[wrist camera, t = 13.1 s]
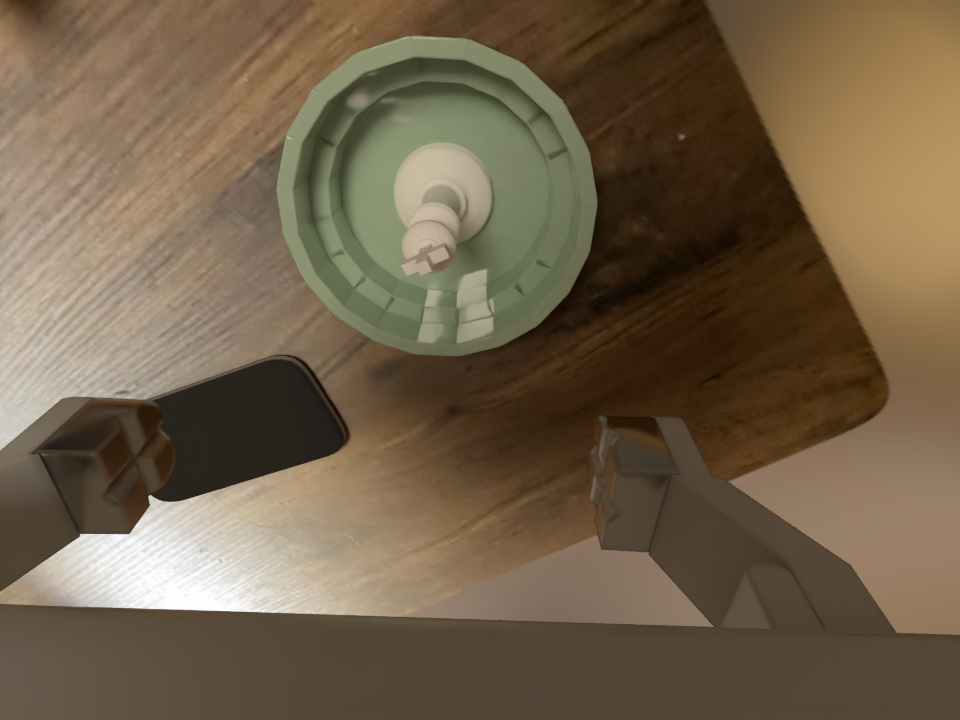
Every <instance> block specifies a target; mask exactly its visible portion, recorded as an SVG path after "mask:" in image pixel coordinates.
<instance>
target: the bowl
mask: <svg viewBox="0 0 960 720" xmlns="http://www.w3.org/2000/svg"><path fill="white" fill-rule="evenodd" d="M437 142H447V143H453V144H457V145H460V146H462V147H464V148H466V149H468V150H469V151H471V152H472V153H474V154H475V155H476V156H477V157H478V158H479V159H480V160H481V161H482V163H483V164H484V165H485V167H486V168H487V170H488V172H489V175H490V177H491V180H492V184H493V191H494V199H493V206H492V210H491V213H490V215H489V217H488V219H487V221H486V223H485V224H484V226H483V227H482V228H481V230H480V231H479V232H478V233H477V234H476V235H474V236H473V237H472V238H470V239H469V240H467V241H465V242H462V243H460V244H456V255H455V258H454V260H453V262H452V263H451V264H450V265H449V266H448V267H447V268H446V269H444V270H443V271H440V272H437V273H427V274H424V275H422V276H420V274H419V272H415V273H413V274H411V275H408V276H406V274H405V272H404V270H403V268H402V267H401V264H402V261H404V260H406V259H405V257H404V255H403V251H402V240H403V237H404V234H405V232H406V231H407V230H408V229H407V228H406V227H405V226H404V224H403V223H402V221H401V220H400V218H399V216H398V213H397V211H396V207H395V203H394V183H395V178H396V175H397V172H398V170H399V168H400V166H401V164H402V163H403V162H404V160H405V159H406V158H407V157H408V156H409V155H410V154H411V153H412V152H414V151H415V150H416V149H418V148H420V147H422V146H425V145H427V144H431V143H437ZM276 189H277V196H278V203H279V210H280V218H281V225H282V232H283V236H284V239H285V241H286V243H287V245H288V247H289V249H290V251H291V254H292V256H293V258H294V260H295V262H296V264H297V267H298V269H299V271H300V273H301V275H302V277H303V279H304V281H305V282H306V284H307V285H308V286H309V287H310V288H311V289H312V291H313V292H314V293H315V294H316V295H317V296H318V297H319V299H320V300H321V301H322V302H323V303H324V304H325V305H326V307H327V308H328V309H329V310H330V311H331V312H332V313H333V315H335V316H336V317H338V318H339V319H341V320H342V321H344V322H345V323H347V324H348V325H350V326H351V327H353V328H354V329H356V330H357V331H359V332H360V333H362V334H363V335H365V336H366V337H368V338H369V339H371V340H373V341H374V342H377V343H380V344H384V345H387V346H390V347H393V348H396V349H399V350H402V351H405V352H408V353H411V354H416V355H436V356H462V355H467V354H471V353H475V352H480V351H484V350H488V349H493V348H497V347H499V346H503V345H504V344H506V343H508V342H510V341H511V340H513V339H515V338H517V337H519V336H520V335H522V334H524V333H526V332H528V331H529V330H531V329H533V328H535V327H537V325H539V324H540V323H541V322H542V321H543V320H544V319H545V318H546V317H547V316H548V315H549V314H550V313H551V312H552V310H553V309H554V308H555V307H556V306H557V305H558V304H559V303H560V302H561V301H562V300H563V299H564V298H565V297H566V296H567V295H568V293H569V292H570V291H571V289H572V287H573V285H574V283H575V281H576V279H577V277H578V275H579V273H580V271H581V269H582V267H583V265H584V263H585V261H586V259H587V257H588V255H589V251H590V250H591V244H592V237H593V231H594V225H595V218H596V212H597V206H598V204H597V203H598V200H597V193H596V187H595V181H594V174H593V168H592V162H591V156H590V152H589V149H588V147H587V145H586V143H585V141H584V139H583V137H582V135H581V133H580V131H579V129H578V128H577V126H576V124H575V122H574V120H573V118H572V116H571V114H570V112H569V110H568V108H567V106H566V104H565V103H563V100H562V99H561V98H560V97H559V96H557V95H556V94H555V93H554V92H553V91H552V90H551V89H550V88H549V87H548V86H547V85H546V84H545V83H544V82H543V81H542V80H541V79H540V78H539V77H537V76H536V75H535V74H534V73H533V72H532V71H531V70H530V69H529V68H528V67H527V66H526V65H525V64H524V63H522V62H521V61H519V60H517V59H516V58H514V57H511V56H509V55H507V54H505V53H502V52H500V51H498V50H495V49H493V48H491V47H489V46H486V45H484V44H482V43H480V42H477V41H475V40H472V39H467V38H452V37H434V36H417V35H412V36H406V37H403V38H400V39H397V40H393V41H390V42H387V43H384V44H381V45H378V46H375V47H372V48H369V49H366V50H362V51H359V52H357V53H356V54H354V55H352V56H351V57H350V58H349V59H347V60H346V61H345V62H344V63H343V64H341V65H340V66H339V67H338V68H336V69H335V70H334V71H333V72H331V73H330V74H329V75H328V76H327V77H325V78H324V79H323V80H322V81H320V82H319V83H318V84H317V85H316V86H314V89H312V90H311V92H310V93H309V95H308V97H307V99H306V100H305V102H304V104H303V105H302V107H301V109H300V111H299V112H298V114H297V116H296V118H295V119H294V121H293V123H292V124H291V126H290V128H289V130H288V131H287V135H286V136H285V141H284V147H283V152H282V158H281V163H280V168H279V174H278V179H277V186H276Z"/></svg>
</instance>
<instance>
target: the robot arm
mask: <svg viewBox="0 0 960 720" xmlns="http://www.w3.org/2000/svg"><path fill="white" fill-rule="evenodd" d="M164 420H165V418H164V416H163V413H162V411H161V408H160V406H159V404H157V403H155V402H153V401H151V400H135V399H117V398H94V397H68V398H64V399H61V400H60V401H59V402H58V403H56V404H55V405H54V406H53V407H52V408H50V409H49V410H48V411H47V412H46V413H45V414H43V415H42V416H41V417H40V418H39V419H37V420H36V421H35V422H34V423H33V424H31V425H30V426H29V427H28V428H27V429H26V430H24V431H23V432H22V433H21V434H20V435H18V436H17V437H16V438H15V439H14V440H12V441H11V442H10V443H9V444H8V445H7V446H5V447H4V448H3V449H2V450H1V451H0V591H2V590H3V589H5V588H6V587H8V586H9V585H10V584H12V583H13V582H15V581H16V580H18V579H19V578H21V577H22V576H23V575H25V574H26V573H28V572H29V571H31V570H32V569H33V568H35V567H36V566H38V565H39V564H41V563H42V562H44V561H45V560H46V559H48V558H49V557H51V556H52V555H54V554H55V553H57V552H58V551H59V550H61V549H62V548H64V547H65V546H67V545H68V544H69V543H71V542H72V541H74V540H75V539H77V538H78V537H80V534H130V532H131V531H132V529H133V528H134V527H135V525H136V524H137V523H138V521H139V520H140V518H141V517H142V516H143V514H144V513H145V512H146V510H147V509H148V507H149V506H150V504H149V499H148V496H149V495H151V494H152V493H154V492H156V491H158V490H159V489H161V488H163V487H164V485H165V484H166V482H167V481H168V479H169V478H170V476H171V474H172V470H173V467H174V463H175V448H174V445H173V442H172V439H171V437H170V436H168V435H167V434H166V433H165V432H164V431H163V430H161V429H160V427H161V425H162V423H163V421H164ZM593 436H594V440H595V444H596V446H595V447H594V448H593V449H592V450H591V451H590V452H589V459H588V466H587V483H588V492H589V497H590V501H591V502H592V503H593V504H594V505H595V506H596V507H597V509H596V514H595V525H596V529H597V534H598V538H599V542H600V547H601V549H602V550H619V551H636V552H649V555H650V556H651V558H653V560H654V561H655V562H656V563H657V564H658V565H659V566H660V568H661V569H662V570H663V571H664V572H665V573H666V574H667V575H668V576H669V577H670V579H672V581H673V582H674V583H675V584H676V585H677V586H678V587H679V589H680V590H681V591H683V593H684V594H685V595H686V596H687V597H688V598H689V600H690V601H691V602H692V603H693V604H694V605H695V606H696V607H697V608H698V610H699V611H700V612H701V613H702V614H703V615H704V616H705V617H706V618H707V620H708V621H709V622H710V623H711V624H712V625H713V626H714V627H696V626H666V625H634V624H602V623H600V624H599V623H571V622H539V621H538V622H537V621H508V620H478V619H448V618H416V617H388V616H357V615H326V614H295V613H263V612H232V611H200V610H169V609H138V608H107V607H76V606H45V605H13V604H0V720H960V635H945V634H913V633H912V634H911V633H896V631H895V630H894V628H893V627H892V625H891V624H890V623H889V621H888V619H887V618H886V617H885V615H884V614H883V612H882V611H881V609H880V608H879V606H878V605H877V603H876V602H875V600H874V599H873V598H872V596H871V594H870V593H869V592H868V590H867V589H866V587H865V586H864V584H863V583H862V581H861V580H860V578H859V577H858V575H857V574H856V572H855V571H854V569H853V568H852V567H851V565H850V564H848V563H847V562H845V561H844V560H842V559H841V558H839V557H838V556H836V555H835V554H833V553H832V552H830V551H829V550H827V549H826V548H824V547H823V546H821V545H820V544H819V543H817V542H816V541H814V540H813V539H811V538H810V537H808V536H807V535H805V534H804V533H802V532H801V531H799V530H798V529H797V528H795V527H794V526H792V525H791V524H789V523H788V522H786V521H785V520H783V519H782V518H780V517H779V516H777V515H776V514H774V513H773V512H772V511H770V510H769V509H767V508H766V507H764V506H763V505H761V504H760V503H758V502H757V501H755V500H754V499H752V498H751V497H750V496H748V495H747V494H745V493H744V492H742V491H741V490H739V489H738V488H736V487H735V486H733V485H732V484H730V483H729V482H727V481H726V480H724V479H723V478H722V477H717V476H712V475H711V473H710V471H709V469H708V468H707V466H706V464H705V462H704V460H703V458H702V456H701V454H700V452H699V450H698V448H697V446H696V444H695V442H694V440H693V438H692V437H691V435H690V433H689V431H688V429H687V427H686V425H685V423H684V421H683V419H681V418H680V417H678V416H652V417H624V416H597V418H596V421H595V424H594V430H593Z"/></svg>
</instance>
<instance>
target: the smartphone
mask: <svg viewBox="0 0 960 720" xmlns="http://www.w3.org/2000/svg"><path fill="white" fill-rule="evenodd" d="M148 400H151V401H153V402H155V403H157V404H159V406H160V408H161V411H162V413H163V416H164V418H165V420H164V421H163V423H162V425H161V427H160V429H161V430H163V431H164V432H165V433H166V434H167V435H168V436H170V437H171V439H172V442H173V445H174V448H175V463H174V467H173V470H172V474H171V476H170V478H169V479H168V481H167V482H166V484H165V485H164V487H163V488H161V489H159V490H158V491H156V492H154V493H152V494H151V495H152V496H153V497H155V498H157V499H159V500H161V501H167V502H175V501H181V500H185V499H189V498H192V497H195V496H199V495H202V494H205V493H208V492H212V491H215V490H218V489H222V488H225V487H228V486H231V485H235V484H238V483H241V482H245V481H248V480H251V479H254V478H258V477H261V476H264V475H267V474H271V473H274V472H277V471H281V470H284V469H287V468H290V467H294V466H297V465H300V464H304V463H307V462H310V461H313V460H317V459H320V458H323V457H326V456H329V455H332V454H334V453H335V452H337V451H338V450H339V449H340V448H341V447H342V446H343V444H344V442H345V439H346V432H345V429H344V426H343V424H342V422H341V420H340V419H339V417H338V416H337V414H336V412H335V411H334V409H333V408H332V406H331V405H330V403H329V401H328V400H327V398H326V397H325V395H324V394H323V392H322V390H321V389H320V387H319V386H318V384H317V383H316V381H315V379H314V378H313V376H312V375H311V373H310V372H309V371H308V369H307V368H306V367H305V366H304V365H303V364H302V363H301V362H300V361H298V360H297V359H295V358H293V357H289V356H271V357H267V358H264V359H261V360H258V361H256V362H253V363H250V364H247V365H244V366H241V367H239V368H236V369H233V370H230V371H227V372H224V373H222V374H219V375H216V376H213V377H210V378H207V379H205V380H202V381H199V382H196V383H193V384H190V385H188V386H185V387H182V388H179V389H176V390H173V391H170V392H168V393H165V394H162V395H159V396H156V397H153V398H151V399H148Z"/></svg>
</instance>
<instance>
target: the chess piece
mask: <svg viewBox="0 0 960 720" xmlns="http://www.w3.org/2000/svg"><path fill="white" fill-rule="evenodd" d="M493 199H494V191H493V184H492V180H491V177H490V175H489V172H488V170H487V168H486V167H485V165H484V164H483V163H482V161H481V160H480V159H479V158H478V157H477V156H476V155H475V154H474V153H472V152H471V151H469V150H468V149H466V148H464V147H462V146H460V145H457V144H453V143H447V142H437V143H431V144H427V145H425V146H422V147H420V148H418V149H416V150H415V151H414V152H412V153H411V154H410V155H409V156H408V157H407V158H406V159H405V160H404V162H403V163H402V164H401V166H400V168H399V170H398V172H397V175H396V178H395V183H394V203H395V207H396V211H397V213H398V216H399V218H400V220H401V221H402V223H403V224H404V226H405V227H406V228H407V229H408V230H407V231H406V232H405V234H404V237H403V240H402V251H403V255H404V257H405V259H406V260H404V261H402V264H401V267H402V268H403V270H404V272H405V274H406V276H408V275H411V274H413V273H415V272H419V274H420V276H422V275H424V274H427V273H437V272H440V271H443V270H444V269H446V268H447V267H448V266H449V265H450V264H451V263H452V262H453V260H454V258H455V255H456V244H460V243H462V242H465V241H467V240H469V239H470V238H472V237H473V236H474V235H476V234H477V233H478V232H479V231H480V230H481V228H482V227H483V226H484V224H485V223H486V221H487V219H488V217H489V215H490V213H491V210H492V206H493Z"/></svg>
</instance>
